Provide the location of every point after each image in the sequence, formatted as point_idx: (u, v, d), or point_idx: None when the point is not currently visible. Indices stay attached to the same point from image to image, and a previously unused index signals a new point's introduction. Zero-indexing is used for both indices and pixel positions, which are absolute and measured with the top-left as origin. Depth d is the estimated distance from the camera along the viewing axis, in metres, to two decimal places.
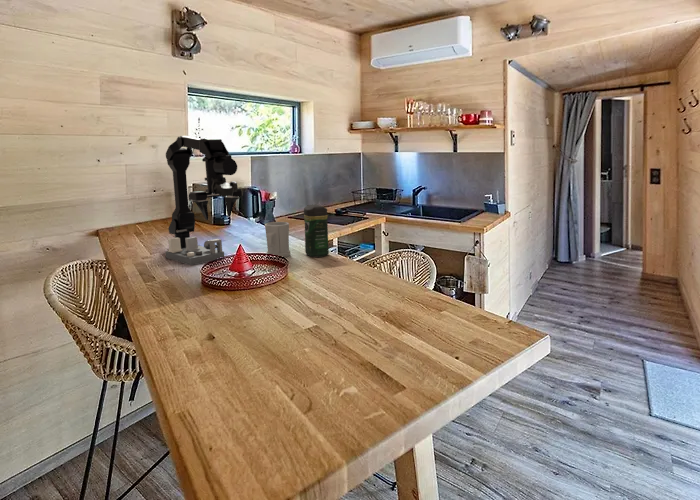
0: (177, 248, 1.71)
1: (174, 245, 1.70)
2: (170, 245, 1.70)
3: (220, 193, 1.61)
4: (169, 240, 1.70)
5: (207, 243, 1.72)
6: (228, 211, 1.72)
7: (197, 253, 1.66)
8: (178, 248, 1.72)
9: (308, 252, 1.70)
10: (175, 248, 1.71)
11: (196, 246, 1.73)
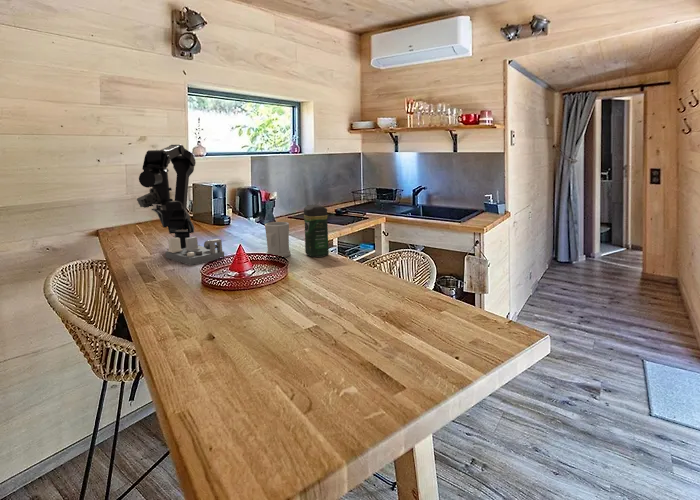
0: (177, 248, 1.71)
1: (174, 245, 1.70)
2: (170, 245, 1.70)
3: None
4: (169, 240, 1.70)
5: (207, 243, 1.72)
6: None
7: (197, 253, 1.66)
8: (178, 248, 1.72)
9: (308, 252, 1.70)
10: (175, 248, 1.71)
11: (196, 246, 1.73)
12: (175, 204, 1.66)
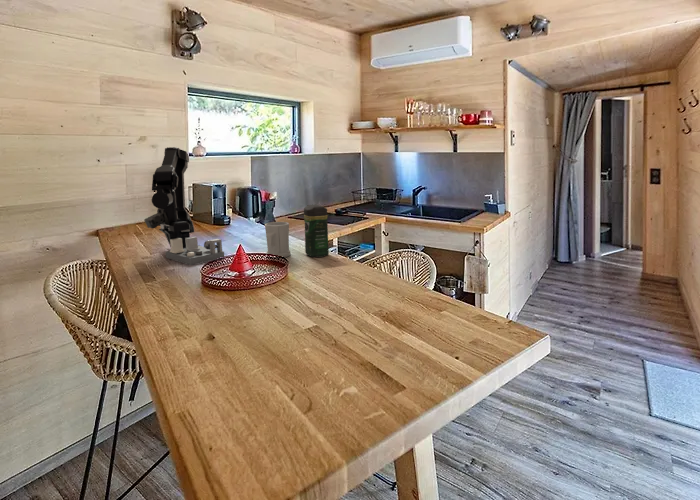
0: (179, 249, 1.70)
1: (176, 246, 1.69)
2: (172, 246, 1.69)
3: None
4: (171, 240, 1.69)
5: (207, 243, 1.72)
6: None
7: (197, 253, 1.66)
8: (180, 249, 1.71)
9: (308, 252, 1.70)
10: (177, 249, 1.70)
11: (196, 246, 1.73)
12: (183, 225, 1.65)
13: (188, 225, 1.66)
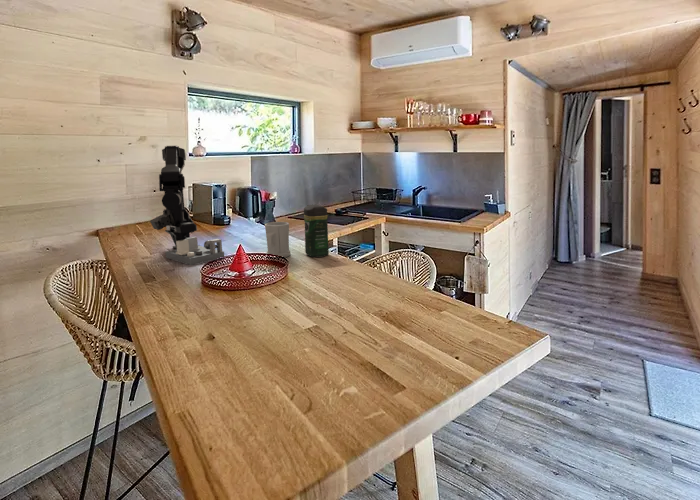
0: (185, 250, 1.67)
1: (182, 247, 1.66)
2: (178, 247, 1.66)
3: None
4: (177, 242, 1.66)
5: (207, 243, 1.72)
6: None
7: (197, 253, 1.66)
8: (186, 250, 1.68)
9: (308, 252, 1.70)
10: (183, 250, 1.67)
11: (196, 246, 1.73)
12: (189, 226, 1.62)
13: (195, 226, 1.63)
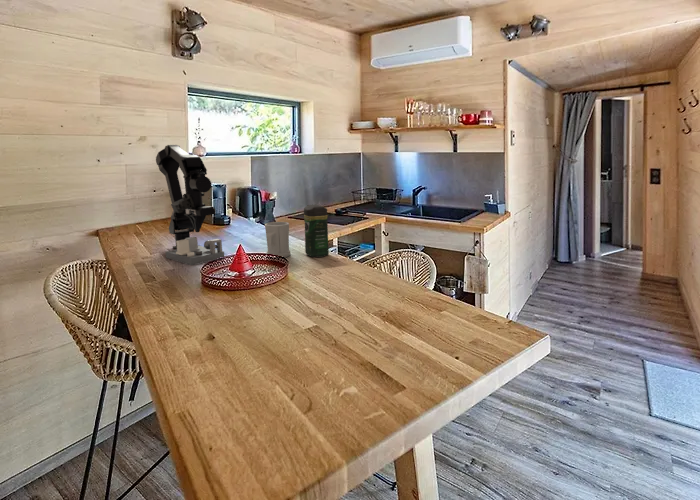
0: (185, 250, 1.67)
1: (182, 247, 1.66)
2: (178, 247, 1.66)
3: None
4: (177, 242, 1.66)
5: (207, 243, 1.72)
6: None
7: (197, 253, 1.66)
8: (186, 250, 1.68)
9: (308, 252, 1.70)
10: (183, 250, 1.67)
11: (196, 246, 1.73)
12: (209, 209, 1.69)
13: (214, 210, 1.70)
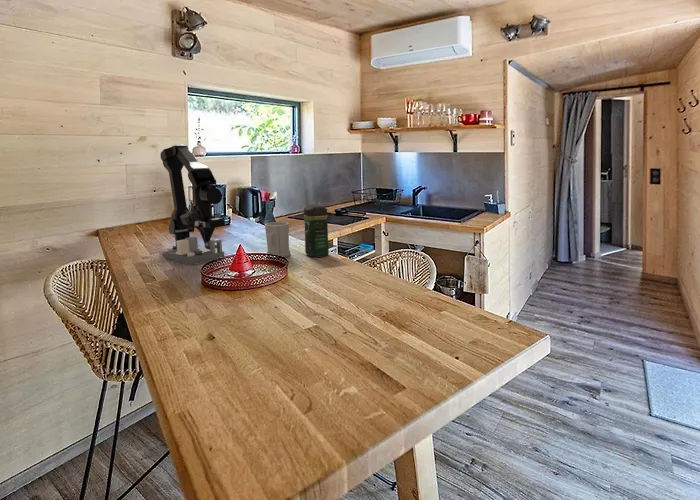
0: (185, 250, 1.67)
1: (182, 247, 1.66)
2: (178, 247, 1.66)
3: None
4: (177, 242, 1.66)
5: (208, 243, 1.71)
6: None
7: (197, 253, 1.66)
8: (186, 250, 1.68)
9: (308, 252, 1.70)
10: (183, 250, 1.67)
11: (196, 246, 1.73)
12: (219, 222, 1.66)
13: (223, 222, 1.67)
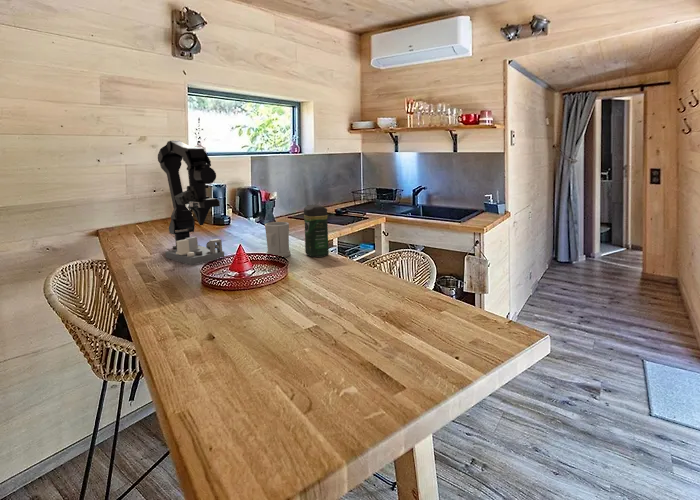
0: (185, 250, 1.67)
1: (182, 247, 1.66)
2: (178, 247, 1.66)
3: None
4: (177, 242, 1.66)
5: None
6: None
7: (197, 253, 1.66)
8: (186, 250, 1.68)
9: (308, 252, 1.70)
10: (183, 250, 1.67)
11: (196, 246, 1.73)
12: (213, 201, 1.66)
13: (218, 202, 1.67)
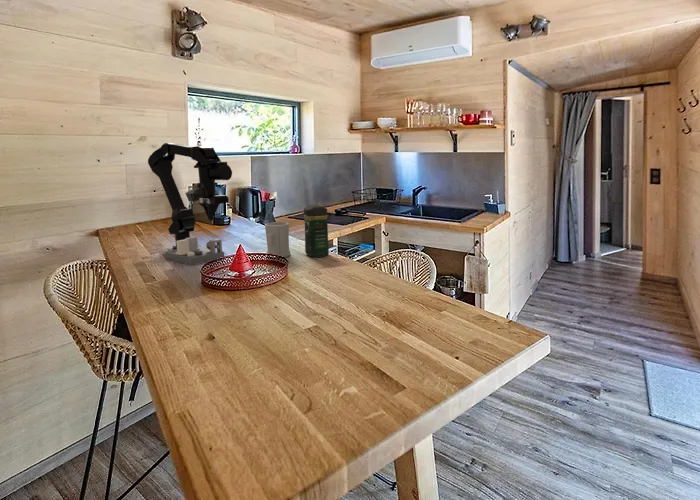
0: (185, 250, 1.67)
1: (182, 247, 1.66)
2: (178, 247, 1.66)
3: None
4: (177, 242, 1.66)
5: None
6: None
7: (197, 253, 1.66)
8: (186, 250, 1.68)
9: (308, 252, 1.70)
10: (183, 250, 1.67)
11: (196, 246, 1.73)
12: (222, 198, 1.73)
13: (227, 198, 1.75)
